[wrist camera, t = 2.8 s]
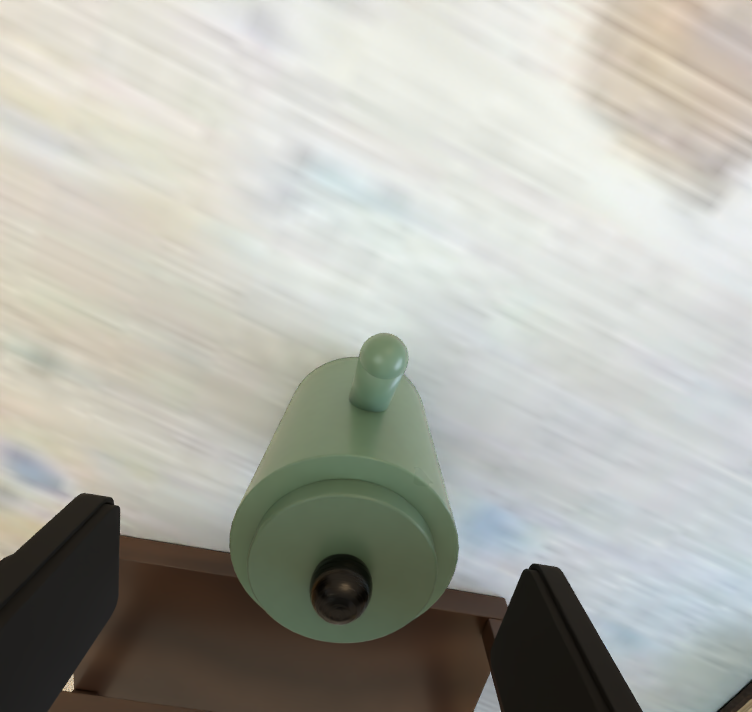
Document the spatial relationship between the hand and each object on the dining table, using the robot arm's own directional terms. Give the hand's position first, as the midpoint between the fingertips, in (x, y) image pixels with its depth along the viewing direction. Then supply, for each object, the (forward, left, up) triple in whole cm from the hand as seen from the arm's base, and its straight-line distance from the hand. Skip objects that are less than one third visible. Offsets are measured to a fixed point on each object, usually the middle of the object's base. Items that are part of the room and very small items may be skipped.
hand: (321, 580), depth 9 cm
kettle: (-1, 0, -8) cm, 8 cm away
